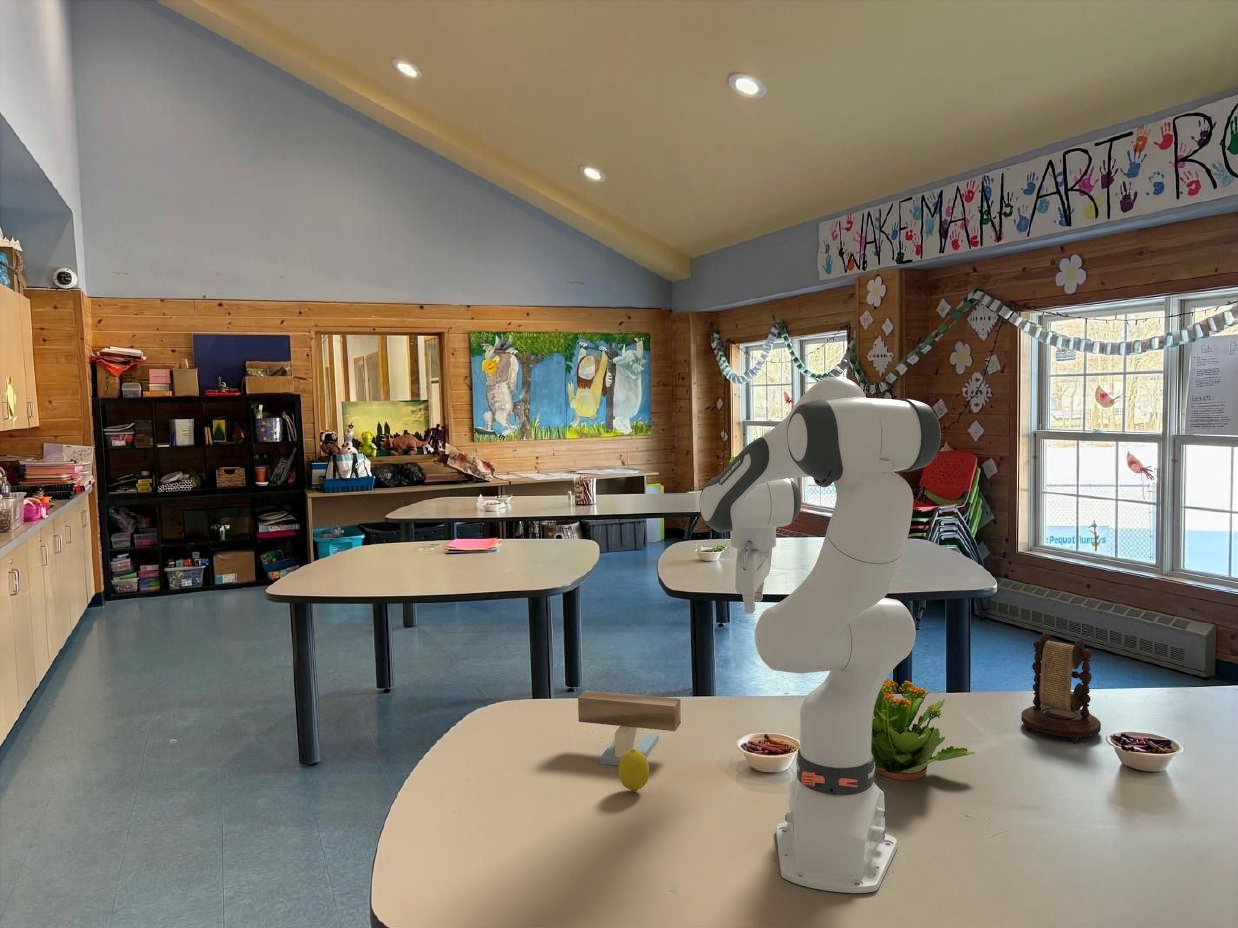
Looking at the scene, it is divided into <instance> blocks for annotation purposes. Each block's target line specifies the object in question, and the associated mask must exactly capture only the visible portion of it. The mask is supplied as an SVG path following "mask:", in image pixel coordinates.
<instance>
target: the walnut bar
mask: <svg viewBox="0 0 1238 928" xmlns="http://www.w3.org/2000/svg"><path fill="white" fill-rule="evenodd" d="M577 706H578V707H577V708H578V709H577V710H578V715H577V716H578V723H584V724H585V723H587V724H598V725H605V726H606V725H608V726H616V727H617V726H618V727H620V726H626V727H636V728H644V729H648V730H649V729H650V730H659V731H660V730H661V731H670V732H676V731H677V729H678V728H679V726H680V725H681V720H682V719H681V717H682V715H681V711H682V709H681V708H682V707H681V698H677V697H666V696H656V695H654V696H653V695H643V694H642V695H641V694H634V693H633V694H631V693H620V692H609V691H595V690H584V691H583V692H581V694H579V696H578V697H577Z"/></svg>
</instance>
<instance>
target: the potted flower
mask: <svg viewBox="0 0 1238 928" xmlns="http://www.w3.org/2000/svg"><path fill="white" fill-rule="evenodd" d="M903 682H904V683H902V684H901V685H900V686H899V684H898V683H897V682H896V681H893V680H892V679H891V680H890V679H889V678H887V679H886V680H885V682H884V684H883V686H882V688H881V690H880V692H879V694H878V697H877V700H876V703H875V707H874V712H873V723H872V747H871V753H872V754H873V756H874V763H875V773H876V772H877V773H878V774H879V775H881V776H883V777H885V778H889V779H892V780H897V781H898V780H899V781H910V780H919V779H920V778H922V777H924V776H925V775H926V773H927V769H928V765H929V764H931V763H933V762H935V761H938V762H941V761H947V760H951V759H957V758H961V757H965V756H969V755H970V756H971V755H975V754H976V752H975V751H968V749H967V748H966V747H960V748H959V747H955V748H954V745H950V746H949V747H946V748H941V750H940V751H937V754H936V755H934V753H935V751H936V749H937V747H938V746H939V745H940V744H942V743H943V742H944V741H945V738H946V736H942V737H940V735H941V733H940V729H939V727H936V728H935V726H932V727H929V724H930V723H931V721H932V720H934V719H935V718H938V719H941V717H940V716H941V715H942V709H941V708H942V707H943V705H944V704H945V701H946V699H945V698H944V699H942V700H939V701H937V702H936V703H933V704H929V705H928V707H927V709H926V710H925V712H923V715H919V717H918V720H917V723H913V721H914V720H915V718H916V717H917V715H918V712H919V710H920V707H921V705H922V704H923V703H924V701H925V699H926V697H927V696H928V694H929V693H930V691H928V690H927V689H925V688H923V687H917V686H914V684H913V683H912V682H910V681H909V680H904V681H903ZM898 686H899V687H898ZM897 687H898V692H899V693H900V695H901V696H902V698H900V697H899V698H896V697H895V695H894V693H893V692H895V693H896V692H897ZM927 720H928V722H927ZM925 722H927V723H926V725H924V726H922V725H923V724H924V723H925ZM911 726H912V727H911ZM921 726H922V727H921ZM910 727H911V729H910Z"/></svg>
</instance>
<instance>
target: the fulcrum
mask: <svg viewBox="0 0 1238 928" xmlns="http://www.w3.org/2000/svg"><path fill="white" fill-rule="evenodd" d="M659 738H660V737H659V734H656V733H645V728H636V727H626V726H618V728H617V730H615V732H614V739H613V741H612V742H611V743H610V745H609V746H608V747H607V748H606V750H604V752H603V753H602V754H601V755H600V756H599V764H602V765H609V766H618V767H619V763H620V759H621V757H622V756H623V755H624V754H625V753H626V752H627V751H630V750H631V749H636V750H638V751H640V752H642V753H643V754H644V755H645V757H646V759H648V757H649V755H650V754H651V752H652V750H653V749H654V748H655V746H656V745H657V743H658V742H659V740H660V739H659Z"/></svg>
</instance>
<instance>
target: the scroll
mask: <svg viewBox="0 0 1238 928" xmlns="http://www.w3.org/2000/svg"><path fill="white" fill-rule="evenodd" d="M1032 644H1033V645H1032V646H1033V648H1034V650H1033V651H1034V652H1035V654H1034V657H1033V660H1034V661H1033V662H1032V665H1031V669H1032V670H1033V673H1034V678H1033V682H1034V683H1033V684H1032V690H1033V691H1034V692H1033V695H1034V697H1033V700H1032V703H1033V705H1032V706H1030V707H1027V708H1025V709H1023V710H1022V712H1021V713H1020V716H1021V718H1020V719H1021V722H1022V723H1023V724H1024V728H1025V730H1026V731H1028V732H1029V731H1030V729H1032V730H1034V731H1037V732H1040V733H1044V734H1046V735H1047V734H1048V735H1051V736H1055V737H1056V736H1057V737H1066V738H1071V740H1072V742H1073V743H1074V744H1076V743H1078V740H1079V738H1087V737H1092V736H1096V735H1098V734H1099V733H1100V732H1101V731H1102V726H1101V725H1102V724H1101V721H1100V720H1099V718H1097V717H1096V716H1095V715H1093V714H1092V713H1090V711H1089V707H1090V702H1091V699H1092V698H1091V696H1090V695H1089V693H1090V686H1089V684H1090V683H1091V681H1092V677H1093V675H1092V673H1091V672H1090V671H1091V667H1090V666H1091V665H1090V662H1091V659H1090V658H1091V657H1092V655H1093V654H1092V652H1091V650H1090V649H1088V648H1086V646H1085V642H1084V641H1083V639H1082V638H1078V639H1076V640H1075V642H1074V645H1072V644H1068V643H1064V642H1063V643H1062V642H1057V641H1052V638H1051V634H1050V633H1049V632H1044V633H1042V635H1041V636H1040V639H1036V640H1034V641H1033V643H1032ZM1081 664H1082V665H1081ZM1080 666H1081V670H1082V671H1081V672H1078V671H1076V670H1077V669H1079V667H1080ZM1072 678H1073V679H1079V680H1080V681H1081V682H1078V683H1077V684H1076V685H1075V686H1074V688H1073V691H1072Z"/></svg>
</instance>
